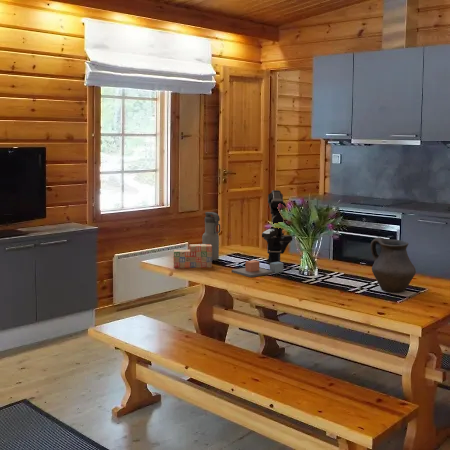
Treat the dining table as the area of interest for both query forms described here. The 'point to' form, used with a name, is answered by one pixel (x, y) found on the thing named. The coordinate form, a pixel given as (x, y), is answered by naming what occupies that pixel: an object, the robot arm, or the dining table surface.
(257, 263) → the terracotta brick
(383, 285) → the pitcher
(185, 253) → the stack of blocks
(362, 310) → the dining table surface
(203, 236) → the water bottle
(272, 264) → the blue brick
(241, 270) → the base plate
